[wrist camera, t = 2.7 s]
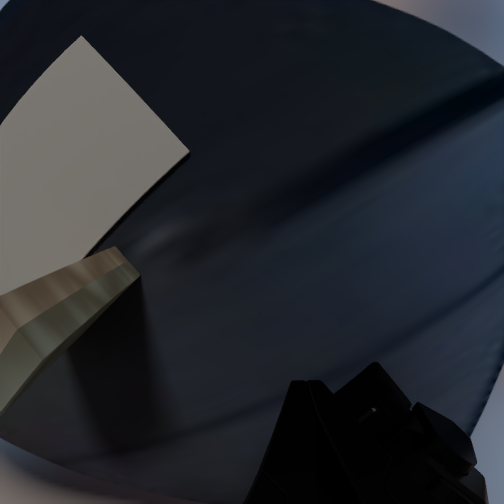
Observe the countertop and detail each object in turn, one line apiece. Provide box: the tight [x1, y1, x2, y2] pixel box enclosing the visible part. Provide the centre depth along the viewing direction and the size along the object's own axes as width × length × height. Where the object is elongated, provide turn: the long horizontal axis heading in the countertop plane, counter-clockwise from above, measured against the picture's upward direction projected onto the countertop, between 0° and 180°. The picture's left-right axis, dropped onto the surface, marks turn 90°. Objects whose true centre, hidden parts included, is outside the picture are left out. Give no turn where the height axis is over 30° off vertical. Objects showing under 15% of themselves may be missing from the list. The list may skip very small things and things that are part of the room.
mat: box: [0, 36, 190, 296], centre depth 18 cm, size 13×18×1 cm
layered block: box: [0, 246, 140, 416], centre depth 14 cm, size 2×7×12 cm, turn 131°
